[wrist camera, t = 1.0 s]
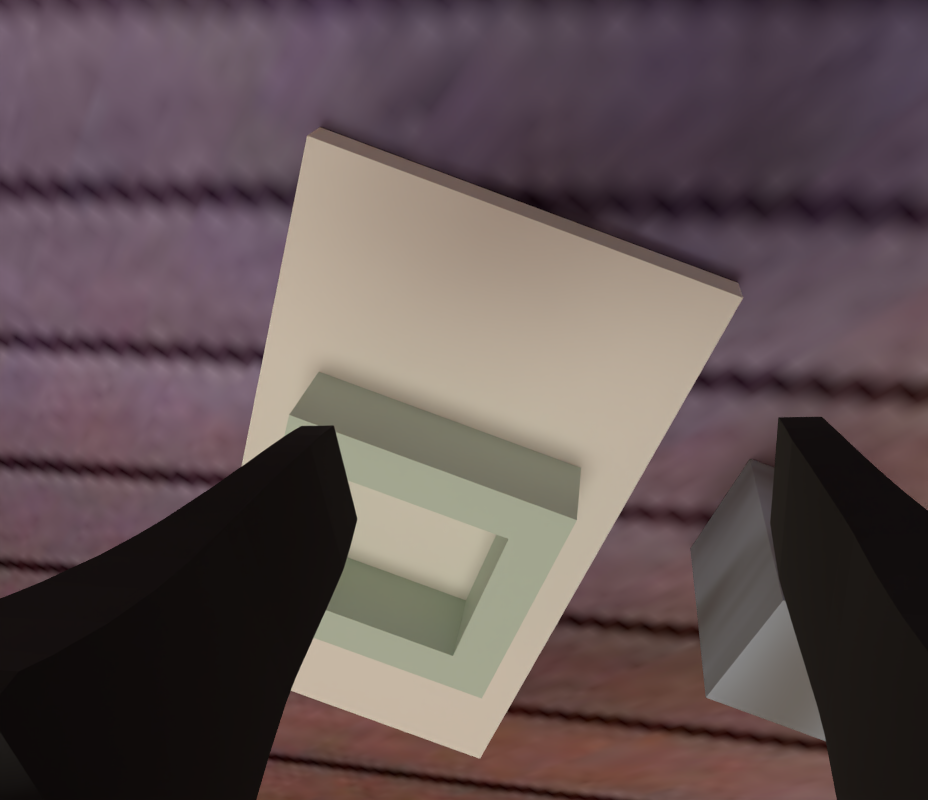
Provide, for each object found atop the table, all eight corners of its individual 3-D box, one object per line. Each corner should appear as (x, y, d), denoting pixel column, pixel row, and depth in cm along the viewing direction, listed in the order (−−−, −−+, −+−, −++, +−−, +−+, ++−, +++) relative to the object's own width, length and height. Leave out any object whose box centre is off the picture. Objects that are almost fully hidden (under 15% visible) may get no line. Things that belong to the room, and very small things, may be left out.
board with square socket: (738, 282, 21) (757, 341, 18) (483, 737, 33) (469, 816, 30) (319, 126, 21) (270, 160, 18) (214, 640, 33) (173, 711, 30)
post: (871, 503, 24) (937, 657, 19) (802, 589, 26) (845, 747, 21) (750, 458, 24) (783, 600, 19) (690, 548, 26) (705, 697, 21)
